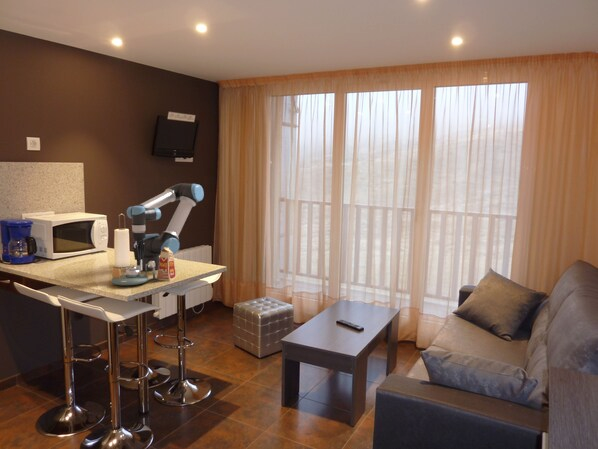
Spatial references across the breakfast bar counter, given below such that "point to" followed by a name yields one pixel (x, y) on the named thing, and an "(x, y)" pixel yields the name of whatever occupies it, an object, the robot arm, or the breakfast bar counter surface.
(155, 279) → the dial indicator
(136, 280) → the turntable
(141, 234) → the robot arm
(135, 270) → the cover
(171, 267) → the milk carton
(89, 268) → the breakfast bar counter surface
